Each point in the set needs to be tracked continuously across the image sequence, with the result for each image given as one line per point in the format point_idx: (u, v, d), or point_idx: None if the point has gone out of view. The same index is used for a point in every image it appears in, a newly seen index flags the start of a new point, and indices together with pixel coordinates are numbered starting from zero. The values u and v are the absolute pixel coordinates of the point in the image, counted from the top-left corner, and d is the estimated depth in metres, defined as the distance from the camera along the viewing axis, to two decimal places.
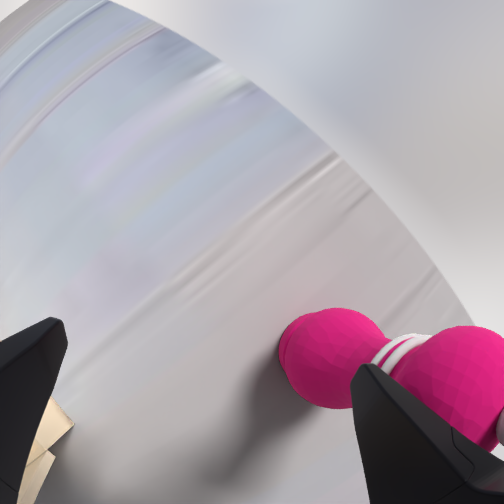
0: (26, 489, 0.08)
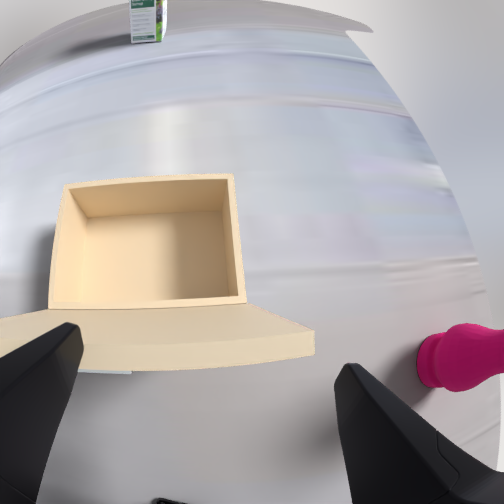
0: (268, 312, 0.13)
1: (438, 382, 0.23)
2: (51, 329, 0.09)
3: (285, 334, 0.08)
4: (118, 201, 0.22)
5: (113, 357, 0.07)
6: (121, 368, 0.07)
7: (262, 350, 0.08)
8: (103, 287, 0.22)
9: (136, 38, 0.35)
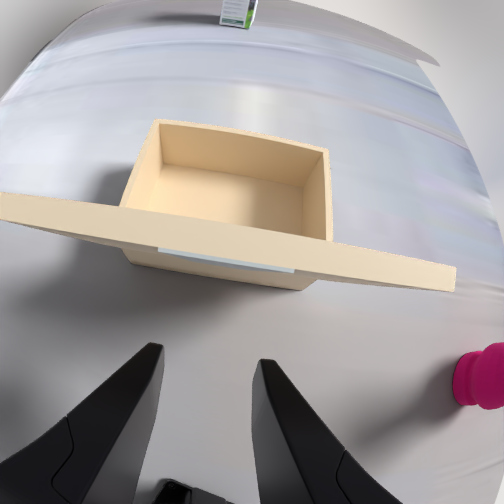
0: None
1: (470, 398, 0.20)
2: None
3: (438, 263, 0.07)
4: (205, 151, 0.22)
5: (277, 248, 0.07)
6: (284, 264, 0.07)
7: (421, 273, 0.07)
8: None
9: (225, 20, 0.37)
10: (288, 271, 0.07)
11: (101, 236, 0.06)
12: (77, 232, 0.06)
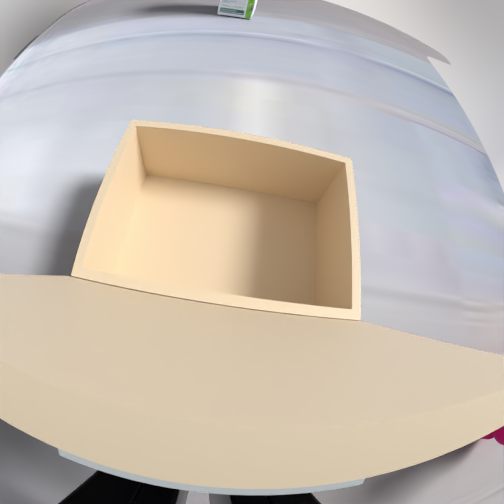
0: (430, 339, 0.08)
1: None
2: (85, 326, 0.04)
3: None
4: (196, 159, 0.18)
5: (336, 455, 0.02)
6: (346, 477, 0.02)
7: None
8: (151, 264, 0.17)
9: (224, 10, 0.33)
10: (351, 481, 0.02)
11: None
12: None
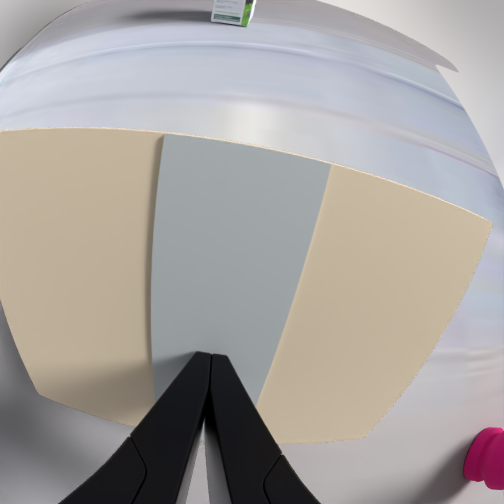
0: None
1: (480, 477, 0.13)
2: None
3: None
4: None
5: (302, 156, 0.06)
6: (316, 159, 0.05)
7: (453, 204, 0.06)
8: None
9: (218, 16, 0.30)
10: (324, 165, 0.05)
11: (99, 127, 0.05)
12: (71, 127, 0.05)
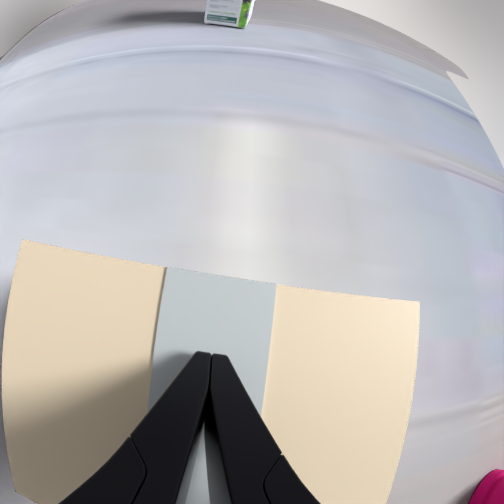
0: None
1: None
2: None
3: None
4: None
5: None
6: (266, 283, 0.08)
7: None
8: None
9: (212, 17, 0.27)
10: (272, 285, 0.08)
11: None
12: (100, 255, 0.08)
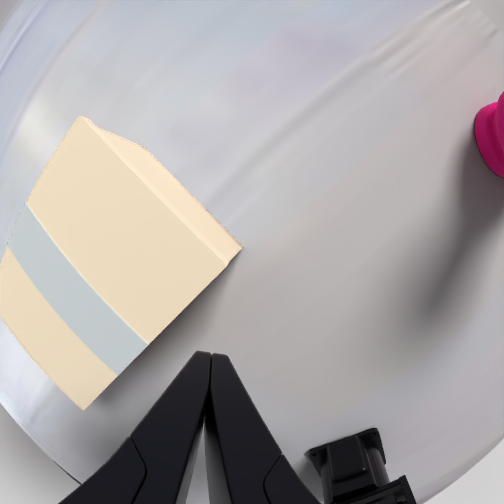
0: (147, 182, 0.12)
1: None
2: None
3: None
4: None
5: None
6: None
7: None
8: None
9: None
10: (25, 204, 0.11)
11: None
12: None
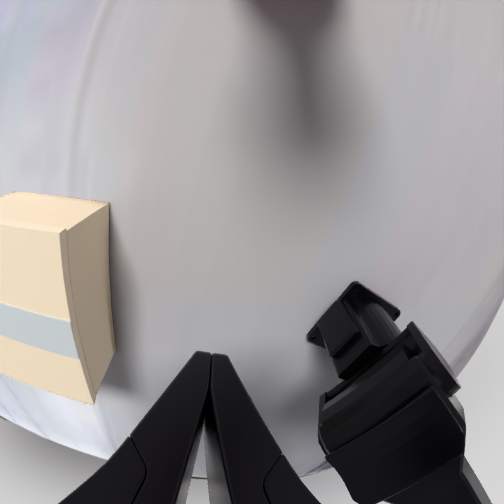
0: (2, 220, 0.12)
1: None
2: None
3: None
4: None
5: None
6: None
7: None
8: None
9: None
10: None
11: None
12: None
